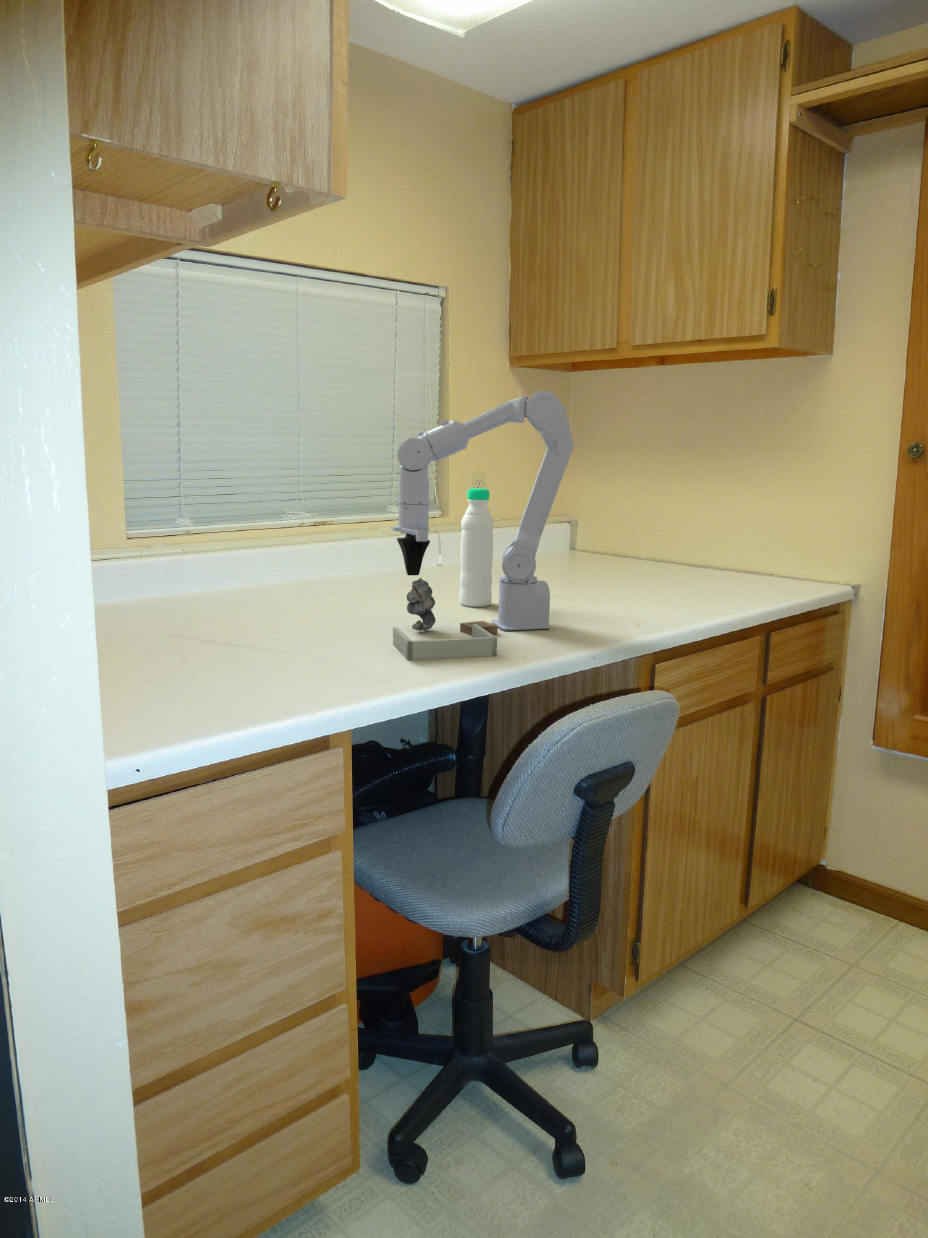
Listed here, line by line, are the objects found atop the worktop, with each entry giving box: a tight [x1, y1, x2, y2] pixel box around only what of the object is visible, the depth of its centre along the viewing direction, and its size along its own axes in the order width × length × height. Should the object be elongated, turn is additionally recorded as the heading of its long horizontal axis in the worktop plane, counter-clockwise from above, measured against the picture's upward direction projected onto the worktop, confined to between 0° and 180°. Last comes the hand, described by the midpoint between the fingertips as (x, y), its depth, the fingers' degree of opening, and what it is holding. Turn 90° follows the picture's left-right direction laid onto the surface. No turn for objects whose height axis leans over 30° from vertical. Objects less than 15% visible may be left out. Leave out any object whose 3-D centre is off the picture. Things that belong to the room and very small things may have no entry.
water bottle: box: [458, 487, 495, 608], centre depth 186 cm, size 7×7×25 cm
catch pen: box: [392, 624, 498, 661], centre depth 147 cm, size 15×11×3 cm
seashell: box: [406, 577, 436, 632], centre depth 161 cm, size 5×5×10 cm
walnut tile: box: [459, 620, 499, 637], centre depth 161 cm, size 5×5×2 cm
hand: (412, 574), depth 166 cm, fingers closed
